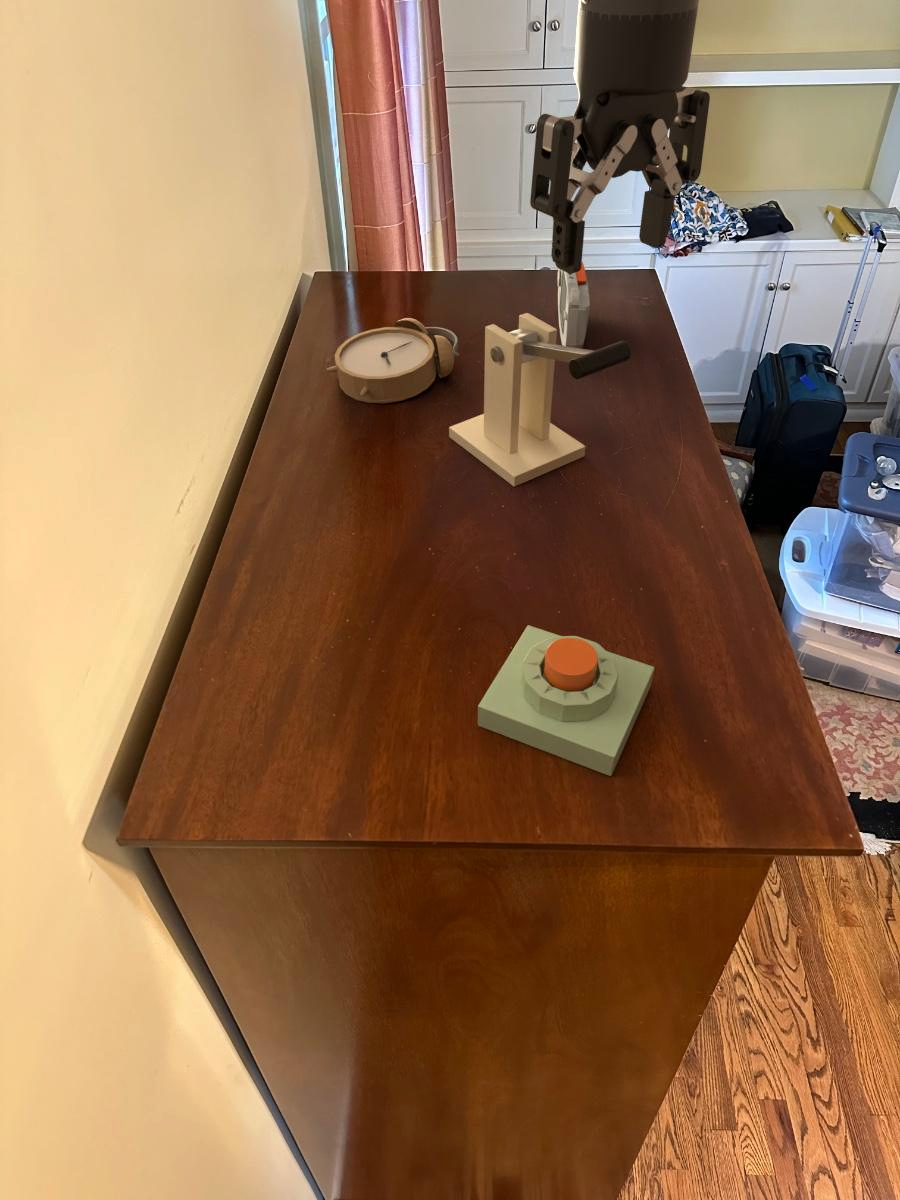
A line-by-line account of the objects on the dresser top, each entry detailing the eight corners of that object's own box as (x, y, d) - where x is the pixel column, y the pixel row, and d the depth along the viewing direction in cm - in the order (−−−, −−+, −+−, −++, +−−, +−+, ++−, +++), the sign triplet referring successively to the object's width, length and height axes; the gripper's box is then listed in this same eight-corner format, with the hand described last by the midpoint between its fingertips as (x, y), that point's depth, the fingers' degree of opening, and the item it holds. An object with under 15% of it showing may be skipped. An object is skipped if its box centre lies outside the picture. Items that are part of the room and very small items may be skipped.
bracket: (584, 456, 87) (597, 336, 78) (514, 487, 83) (519, 365, 74) (517, 410, 93) (522, 295, 84) (448, 436, 89) (446, 319, 81)
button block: (650, 686, 64) (658, 649, 61) (611, 777, 58) (618, 740, 55) (526, 644, 67) (529, 607, 65) (477, 725, 62) (477, 688, 59)
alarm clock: (313, 352, 97) (419, 295, 102) (325, 388, 101) (427, 332, 105) (367, 392, 91) (478, 329, 95) (377, 429, 94) (483, 367, 99)
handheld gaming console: (554, 308, 112) (559, 246, 106) (577, 308, 111) (582, 246, 106) (561, 362, 101) (567, 295, 96) (587, 362, 101) (593, 295, 95)
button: (602, 664, 61) (605, 646, 60) (585, 699, 59) (587, 682, 57) (555, 648, 62) (556, 630, 61) (536, 681, 60) (537, 664, 59)
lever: (632, 365, 73) (630, 337, 72) (583, 385, 71) (580, 355, 70) (535, 349, 83) (532, 324, 82) (489, 365, 81) (486, 339, 80)
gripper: (592, 20, 49) (570, 296, 60) (761, -7, 55) (713, 250, 66) (512, 4, 54) (506, 263, 65) (676, -19, 60) (644, 223, 71)
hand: (610, 256), depth 65 cm, fingers open, 8 cm apart
